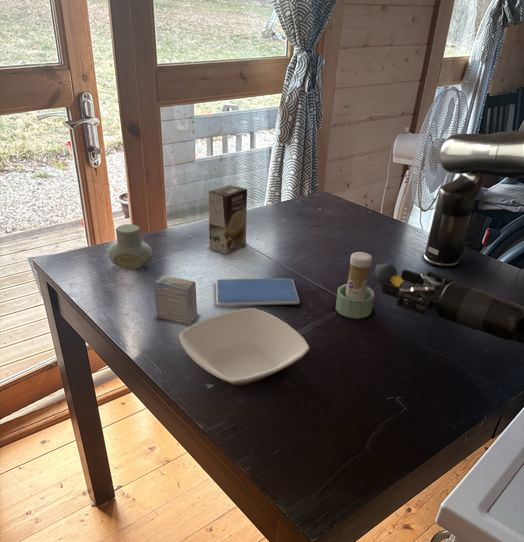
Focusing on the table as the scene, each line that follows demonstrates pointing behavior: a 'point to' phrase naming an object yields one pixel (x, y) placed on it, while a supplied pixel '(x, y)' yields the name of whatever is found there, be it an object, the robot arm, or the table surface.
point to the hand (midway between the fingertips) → (392, 280)
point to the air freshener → (130, 248)
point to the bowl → (243, 345)
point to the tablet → (256, 292)
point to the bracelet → (354, 304)
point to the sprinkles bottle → (358, 275)
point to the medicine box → (175, 299)
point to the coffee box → (227, 218)
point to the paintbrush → (391, 277)
